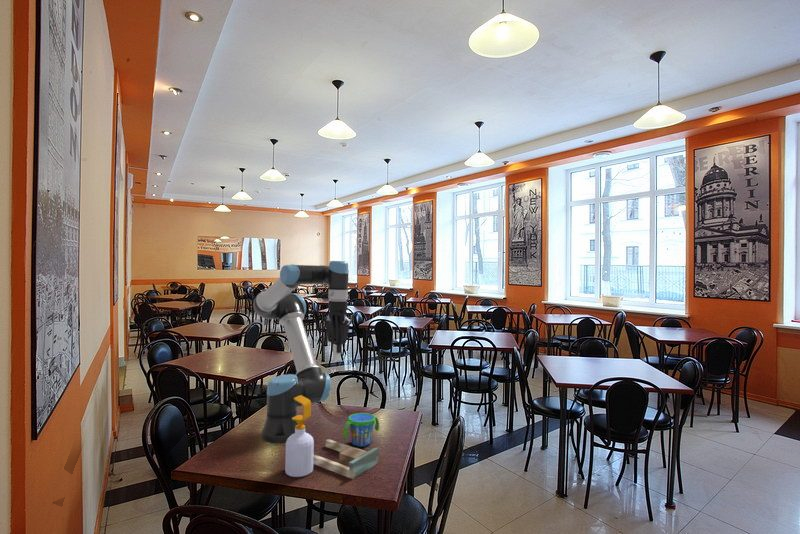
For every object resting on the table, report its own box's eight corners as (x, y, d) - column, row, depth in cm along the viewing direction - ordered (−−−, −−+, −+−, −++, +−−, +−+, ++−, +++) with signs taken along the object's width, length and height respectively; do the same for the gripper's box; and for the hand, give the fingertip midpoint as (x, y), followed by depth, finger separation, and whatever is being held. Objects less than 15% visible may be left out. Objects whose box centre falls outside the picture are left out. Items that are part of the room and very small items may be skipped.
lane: (300, 459, 145) (300, 444, 145) (328, 445, 156) (328, 432, 156) (352, 479, 131) (353, 463, 131) (378, 462, 143) (378, 448, 143)
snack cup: (372, 434, 167) (372, 409, 168) (385, 443, 159) (386, 417, 159) (337, 442, 159) (337, 416, 159) (349, 453, 150) (349, 425, 150)
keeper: (339, 466, 140) (339, 453, 140) (350, 459, 145) (350, 446, 145) (355, 471, 136) (355, 458, 137) (366, 464, 142) (366, 451, 142)
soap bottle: (296, 462, 142) (297, 391, 142) (318, 467, 138) (319, 395, 139) (279, 474, 134) (281, 399, 134) (302, 480, 130) (304, 402, 130)
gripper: (319, 299, 160) (317, 360, 160) (343, 302, 152) (342, 365, 152) (332, 298, 166) (331, 356, 166) (356, 301, 159) (355, 361, 158)
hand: (336, 360), depth 159 cm, fingers closed
